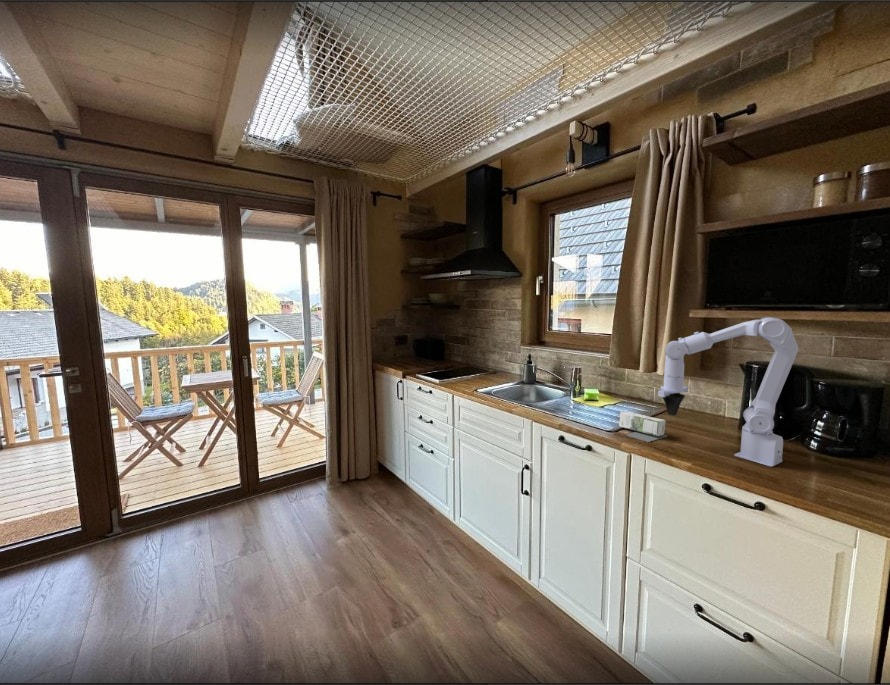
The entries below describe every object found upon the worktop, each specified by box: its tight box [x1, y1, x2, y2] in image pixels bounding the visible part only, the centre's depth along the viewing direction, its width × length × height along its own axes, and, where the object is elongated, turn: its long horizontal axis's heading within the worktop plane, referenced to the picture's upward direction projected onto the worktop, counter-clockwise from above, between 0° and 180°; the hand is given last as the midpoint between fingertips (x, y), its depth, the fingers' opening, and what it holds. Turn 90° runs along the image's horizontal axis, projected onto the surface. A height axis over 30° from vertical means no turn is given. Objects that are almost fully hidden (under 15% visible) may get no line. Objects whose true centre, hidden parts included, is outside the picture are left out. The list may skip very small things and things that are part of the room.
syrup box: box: [618, 411, 667, 436], centre depth 137 cm, size 6×6×14 cm
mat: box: [625, 431, 668, 443], centre depth 133 cm, size 8×12×1 cm
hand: (672, 414), depth 125 cm, fingers closed
